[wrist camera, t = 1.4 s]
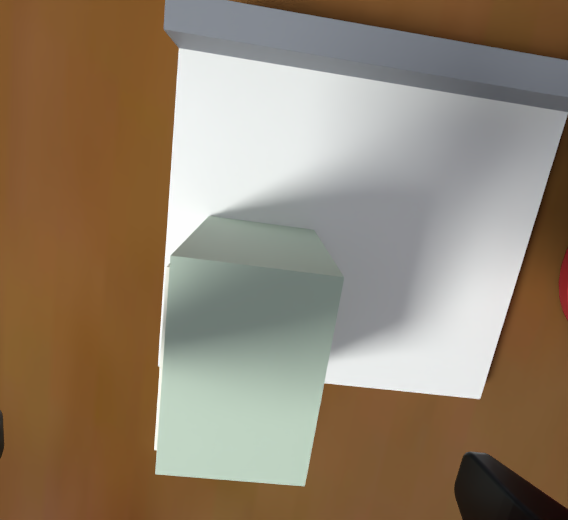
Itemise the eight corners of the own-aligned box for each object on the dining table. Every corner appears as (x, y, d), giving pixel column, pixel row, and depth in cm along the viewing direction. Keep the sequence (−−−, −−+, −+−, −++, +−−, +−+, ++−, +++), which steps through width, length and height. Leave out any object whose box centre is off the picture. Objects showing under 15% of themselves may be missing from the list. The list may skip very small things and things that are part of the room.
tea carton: (314, 229, 15) (344, 276, 9) (291, 369, 16) (304, 486, 11) (204, 215, 14) (163, 254, 9) (191, 358, 16) (149, 473, 10)
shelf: (468, 386, 18) (507, 430, 15) (164, 354, 17) (143, 395, 14) (558, 84, 15) (629, 67, 12) (187, 21, 14) (166, -15, 11)
